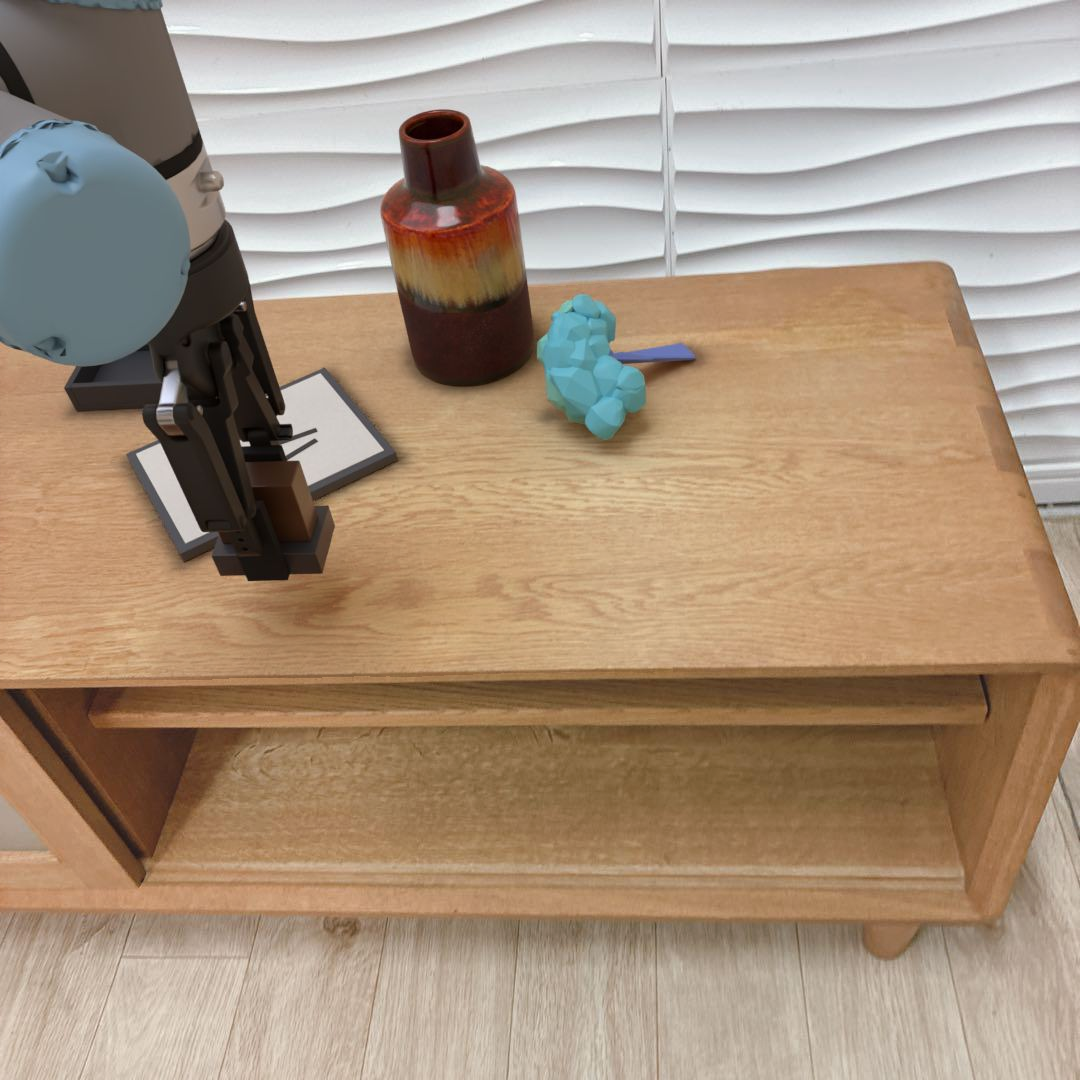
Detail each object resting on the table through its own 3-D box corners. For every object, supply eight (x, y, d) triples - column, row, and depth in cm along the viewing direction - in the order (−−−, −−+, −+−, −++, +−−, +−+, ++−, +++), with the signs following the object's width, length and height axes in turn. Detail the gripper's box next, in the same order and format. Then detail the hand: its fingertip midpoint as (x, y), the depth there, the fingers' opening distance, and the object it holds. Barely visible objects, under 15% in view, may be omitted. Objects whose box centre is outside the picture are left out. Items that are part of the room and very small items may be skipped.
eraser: (220, 576, 71) (185, 500, 66) (237, 528, 75) (205, 452, 70) (322, 574, 71) (295, 497, 66) (335, 525, 74) (310, 448, 69)
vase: (530, 305, 98) (502, 84, 83) (538, 378, 91) (509, 149, 76) (413, 320, 98) (365, 102, 84) (412, 394, 91) (358, 168, 76)
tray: (75, 411, 94) (63, 387, 92) (106, 354, 100) (95, 331, 98) (198, 405, 93) (188, 381, 91) (222, 348, 98) (213, 324, 97)
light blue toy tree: (596, 367, 97) (483, 371, 86) (656, 294, 92) (544, 287, 81) (666, 459, 94) (558, 475, 82) (732, 388, 88) (626, 395, 77)
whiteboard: (183, 562, 80) (179, 552, 79) (129, 461, 89) (124, 452, 88) (398, 460, 85) (395, 450, 84) (327, 375, 94) (324, 365, 93)
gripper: (179, 333, 49) (305, 650, 66) (267, 153, 61) (355, 459, 78) (24, 340, 50) (187, 651, 67) (141, 161, 62) (255, 462, 79)
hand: (277, 547), depth 72 cm, fingers closed on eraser, 4 cm apart
